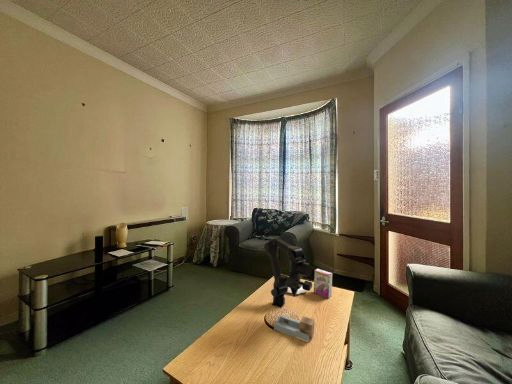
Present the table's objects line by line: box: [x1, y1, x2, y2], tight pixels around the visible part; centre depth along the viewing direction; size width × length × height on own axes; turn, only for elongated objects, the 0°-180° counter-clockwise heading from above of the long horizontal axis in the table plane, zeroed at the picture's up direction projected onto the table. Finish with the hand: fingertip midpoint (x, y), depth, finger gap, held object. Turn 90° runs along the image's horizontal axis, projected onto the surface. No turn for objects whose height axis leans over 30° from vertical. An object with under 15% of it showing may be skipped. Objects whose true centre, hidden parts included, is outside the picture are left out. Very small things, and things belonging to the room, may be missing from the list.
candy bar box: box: [313, 268, 333, 299], centre depth 148 cm, size 11×5×16 cm, turn 47°
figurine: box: [287, 286, 308, 295], centre depth 155 cm, size 20×18×16 cm
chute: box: [273, 315, 311, 343], centre depth 111 cm, size 18×9×3 cm, turn 62°
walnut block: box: [299, 315, 315, 340], centre depth 108 cm, size 6×5×7 cm
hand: (294, 296), depth 122 cm, fingers closed
